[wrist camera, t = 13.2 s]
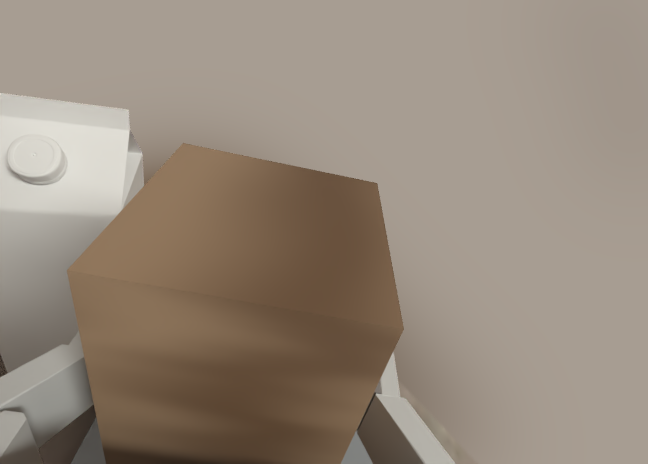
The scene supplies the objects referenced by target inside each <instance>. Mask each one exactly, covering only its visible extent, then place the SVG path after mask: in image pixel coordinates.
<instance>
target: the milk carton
mask: <svg viewBox="0 0 648 464" xmlns="http://www.w3.org/2000/svg"><path fill="white" fill-rule="evenodd" d="M142 155H143V153H142V151H141V149H140V147H139V146H138V144H137V142H136V140H135V139H134V136H133V134H132V132H131V131H130V122H129V111H128V110H127V109H120V108H112V107H104V106H97V105H89V104H82V103H74V102H67V101H59V100H51V99H43V98H36V97H28V96H21V95H13V94H5V93H0V354H1V357H2V360H3V362H4V365H5V368H6V370H7V373H9V372H11V371H13V370H15V369H17V368H19V367H21V366H22V365H24V364H26V363H28V362H30V361H32V360H34V359H36V358H37V357H39V356H41V355H43V354H45V353H47V352H49V351H51V350H53V349H54V348H56V347H58V346H60V345H62V344H64V345H69V343H70V342H71V341H72V339H73V338H74V337H75V335H76V334H77V332H78V331H79V329H78V324H77V319H76V314H75V309H74V304H73V299H72V294H71V289H70V284H69V279H68V275H67V270H68V268H69V267H70V266H71V265H72V264H73V263H74V262H75V261H76V260H77V259H78V258H79V256H80V255H81V254H82V253H83V252H84V251H85V250H86V249H87V248H88V247H89V246H90V244H91V243H92V242H93V241H94V240H95V239H96V238H97V237H98V236H99V235H100V234H101V232H102V231H103V230H104V229H105V228H106V227H107V226H108V225H109V224H110V223H111V221H112V220H113V219H114V218H115V217H116V216H117V215H118V214H119V213H120V212H121V211H122V209H123V208H124V207H125V206H126V205H127V204H128V203H129V202H130V201H131V200H132V199H133V197H134V196H135V195H136V194H137V193H138V192H139V191H140V190H141V189H142V188H143V187H144V178H143V157H142Z"/></svg>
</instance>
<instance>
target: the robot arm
mask: <svg viewBox="0 0 648 464" xmlns="http://www.w3.org/2000/svg"><path fill="white" fill-rule="evenodd" d="M92 405H94V402H93V398H92V393H91V388H90V383H89V378H88V373H87V368H86V363H85V358H84V353H83V348H82V343H81V339H80V334H79V331H78V332H77V334H76V335H75V337H74V338H73V339H72V341H71V342H70V343H69V345H64V344H62V345H60V346H58V347H56V348H54V349H53V350H51V351H49V352H47V353H45V354H43V355H41V356H39V357H37V358H36V359H34V360H32V361H30V362H28V363H26V364H24V365H22V366H21V367H19V368H17V369H15V370H13V371H11V372H9V373H7V374H6V375H4V376H2V377H0V464H44V463H43V461H42V458H41V456H40V453H39V450H38V448H40V447H41V446H42V445H43V444H45V443H46V442H47V441H48V440H50V439H51V438H52V437H53V436H55V435H56V434H57V433H58V432H60V431H61V430H62V429H63V428H65V427H66V426H67V425H69V424H70V423H71V422H72V421H74V420H75V419H76V418H77V417H79V416H80V415H81V414H82V413H84V412H85V411H86V410H87V409H89V408H90V407H91V406H92ZM356 431H357V434H358V436H359V438H360V440H361V442H362V444H363V445H364V447H365V449H366V451H367V453H368V455H369V457H370V459H371V461H372V463H373V464H455V462H454V461H453V460H452V458H451V457H450V456H449V454H448V453H447V452H446V451H445V449H444V448H443V447H442V445H441V444H440V443H439V441H438V440H437V439H436V437H435V436H434V435H433V434H432V432H431V431H430V430H429V428H428V427H427V426H426V424H425V423H424V422H423V420H422V419H421V418H420V417H419V415H418V414H417V413H416V411H415V410H414V409H413V407H412V406H411V405H410V404H409V402H408V401H407V400H406V398H401V397H400V391H399V384H398V378H397V371H396V365H395V359H394V352H393V353H392V355H391V357H390V359H389V362H388V364H387V366H386V368H385V370H384V372H383V374H382V376H381V379H380V381H379V383H378V385H377V387H376V389H375V391H374V394H373V396H372V398H371V400H370V402H369V404H368V406H367V409H366V411H365V413H364V415H363V417H362V419H361V421H360V423H359V426H358V428H357V430H356Z"/></svg>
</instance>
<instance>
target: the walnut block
mask: <svg viewBox="0 0 648 464" xmlns="http://www.w3.org/2000/svg"><path fill="white" fill-rule="evenodd" d="M67 275H68V279H69V284H70V289H71V294H72V299H73V304H74V309H75V314H76V319H77V324H78V329H79V334H80V339H81V343H82V348H83V353H84V358H85V363H86V368H87V373H88V378H89V383H90V388H91V393H92V398H93V402H94V407H95V412H96V417H97V422H98V427H99V432H100V437H101V442H102V447H103V452H104V457H105V462H106V464H341V462H342V460H343V458H344V455H345V453H346V451H347V449H348V447H349V445H350V443H351V441H352V438H353V436H354V434H355V432H356V430H357V428H358V426H359V423H360V421H361V419H362V417H363V415H364V413H365V411H366V409H367V406H368V404H369V402H370V400H371V398H372V396H373V394H374V391H375V389H376V387H377V385H378V383H379V381H380V379H381V376H382V374H383V372H384V370H385V368H386V366H387V364H388V362H389V359H390V357H391V355H392V353H393V351H394V349H395V346H396V344H397V342H398V340H399V338H400V336H401V334H402V332H403V330H404V328H403V322H402V317H401V311H400V306H399V300H398V295H397V289H396V284H395V279H394V273H393V267H392V262H391V257H390V251H389V246H388V241H387V235H386V230H385V224H384V218H383V213H382V207H381V202H380V196H379V191H378V185H377V183H374V182H369V181H363V180H359V179H354V178H349V177H344V176H339V175H335V174H330V173H325V172H320V171H315V170H311V169H306V168H301V167H296V166H291V165H286V164H282V163H277V162H272V161H267V160H262V159H257V158H252V157H248V156H243V155H237V154H233V153H228V152H223V151H218V150H214V149H209V148H203V147H199V146H194V145H190V144H185V143H183V144H182V145H181V146H180V147H179V148H178V149H177V150H176V152H175V153H174V154H173V155H172V156H171V157H170V158H169V160H167V161H166V163H165V164H164V165H163V166H162V167H161V168H160V169H159V170H158V171H157V172H156V174H155V175H154V176H153V177H152V178H151V179H150V180H149V181H148V182H147V183H146V184H145V185H144V187H143V188H142V189H141V190H140V191H139V192H138V193H137V194H136V195H135V196H134V197H133V199H132V200H131V201H130V202H129V203H128V204H127V205H126V206H125V207H124V208H123V209H122V211H121V212H120V213H119V214H118V215H117V216H116V217H115V218H114V219H113V220H112V221H111V223H110V224H109V225H108V226H107V227H106V228H105V229H104V230H103V231H102V232H101V234H100V235H99V236H98V237H97V238H96V239H95V240H94V241H93V242H92V243H91V244H90V246H89V247H88V248H87V249H86V250H85V251H84V252H83V253H82V254H81V255H80V256H79V258H78V259H77V260H76V261H75V262H74V263H73V264H72V265H71V266H70V267H69V268H68V270H67Z"/></svg>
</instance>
